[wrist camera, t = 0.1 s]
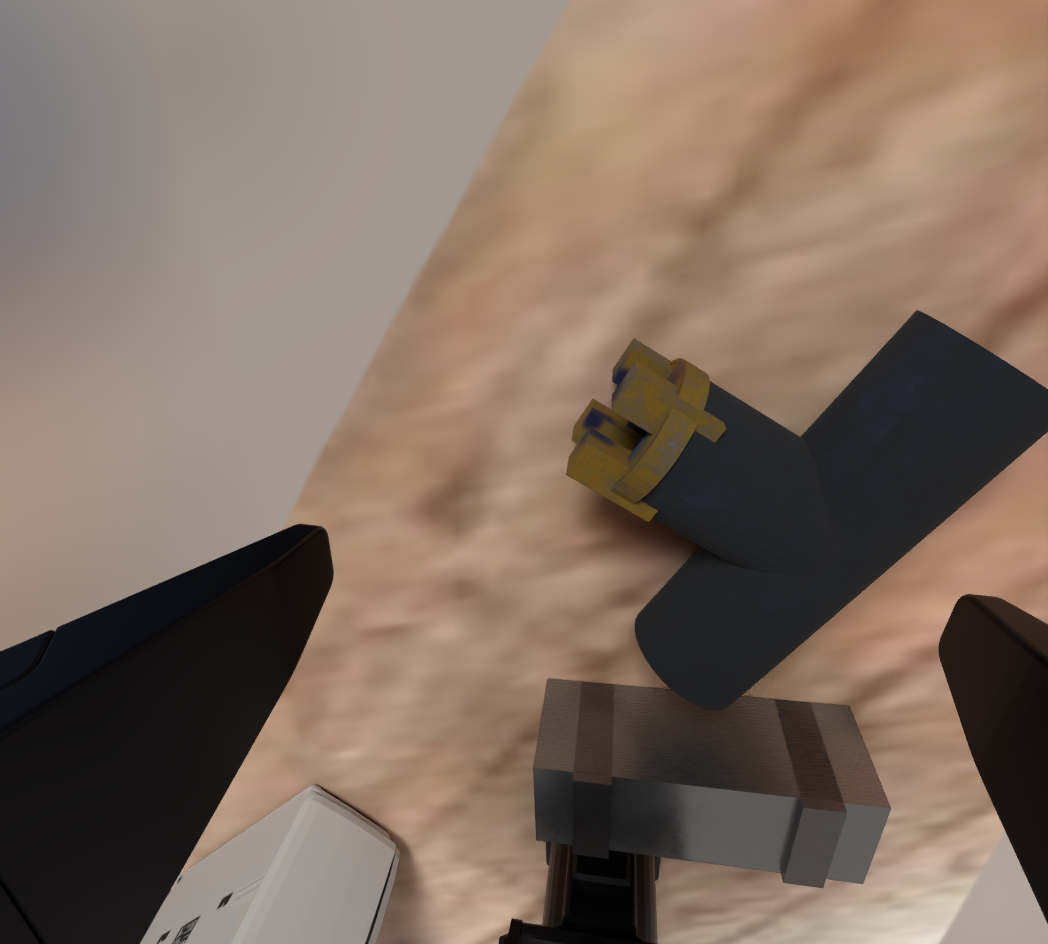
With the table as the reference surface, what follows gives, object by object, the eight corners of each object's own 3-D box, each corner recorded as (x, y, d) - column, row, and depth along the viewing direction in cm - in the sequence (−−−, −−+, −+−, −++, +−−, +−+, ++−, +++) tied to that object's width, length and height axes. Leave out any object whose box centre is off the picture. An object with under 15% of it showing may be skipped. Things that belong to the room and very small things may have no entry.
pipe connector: (485, 595, 22) (767, 199, 15) (508, 517, 26) (731, 189, 19) (745, 735, 23) (1116, 435, 16) (724, 638, 28) (1004, 372, 21)
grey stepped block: (828, 778, 30) (866, 894, 25) (549, 747, 32) (535, 848, 27) (849, 706, 28) (895, 818, 23) (547, 678, 30) (531, 775, 25)
